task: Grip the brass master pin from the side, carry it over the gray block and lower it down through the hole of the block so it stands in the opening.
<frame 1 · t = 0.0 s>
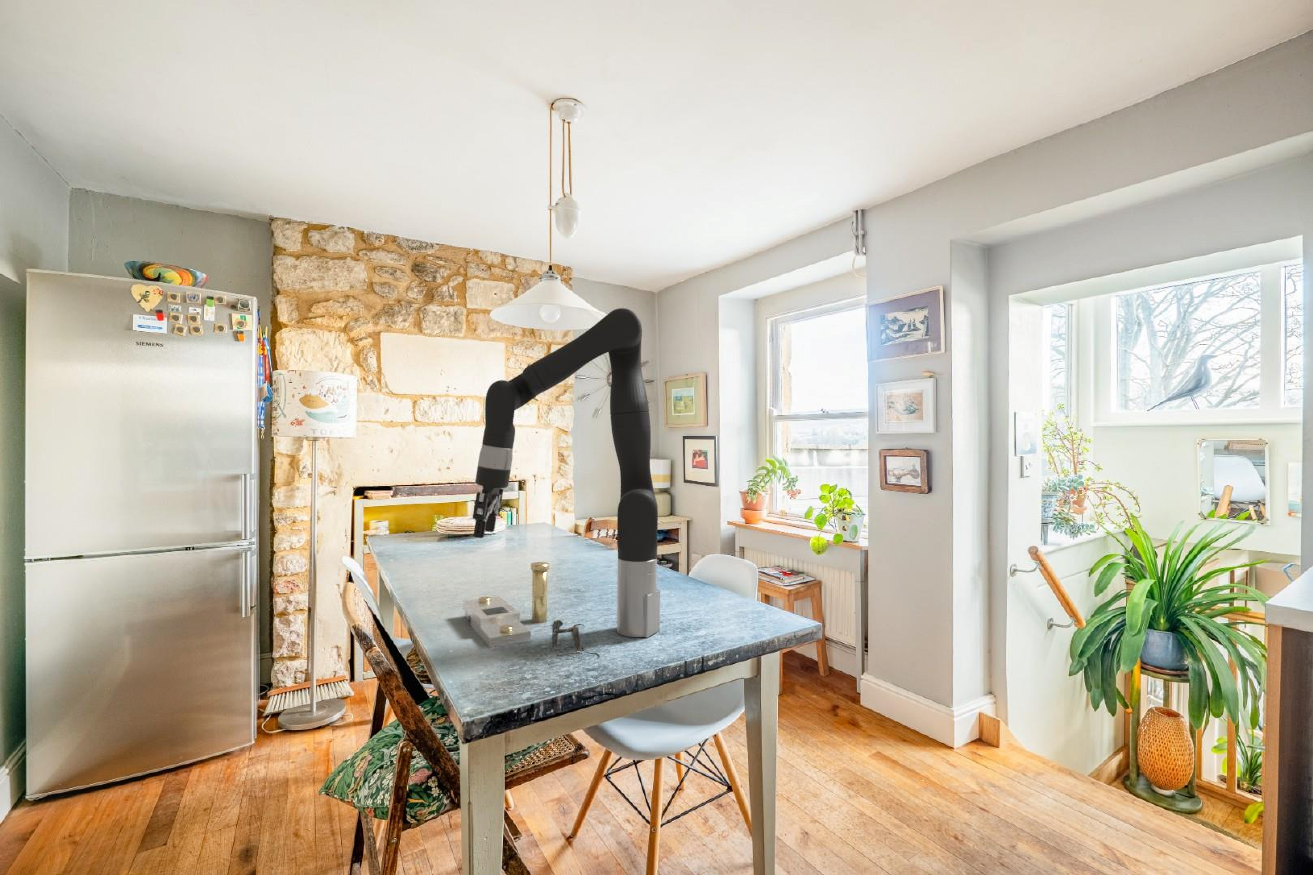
hand: (484, 534, 135), 22 cm above the table, tool pointing down, fingers open, 8 cm apart
master pin: (539, 620, 143), on the table
gray block: (494, 627, 137), on the table
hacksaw: (574, 642, 130), on the table
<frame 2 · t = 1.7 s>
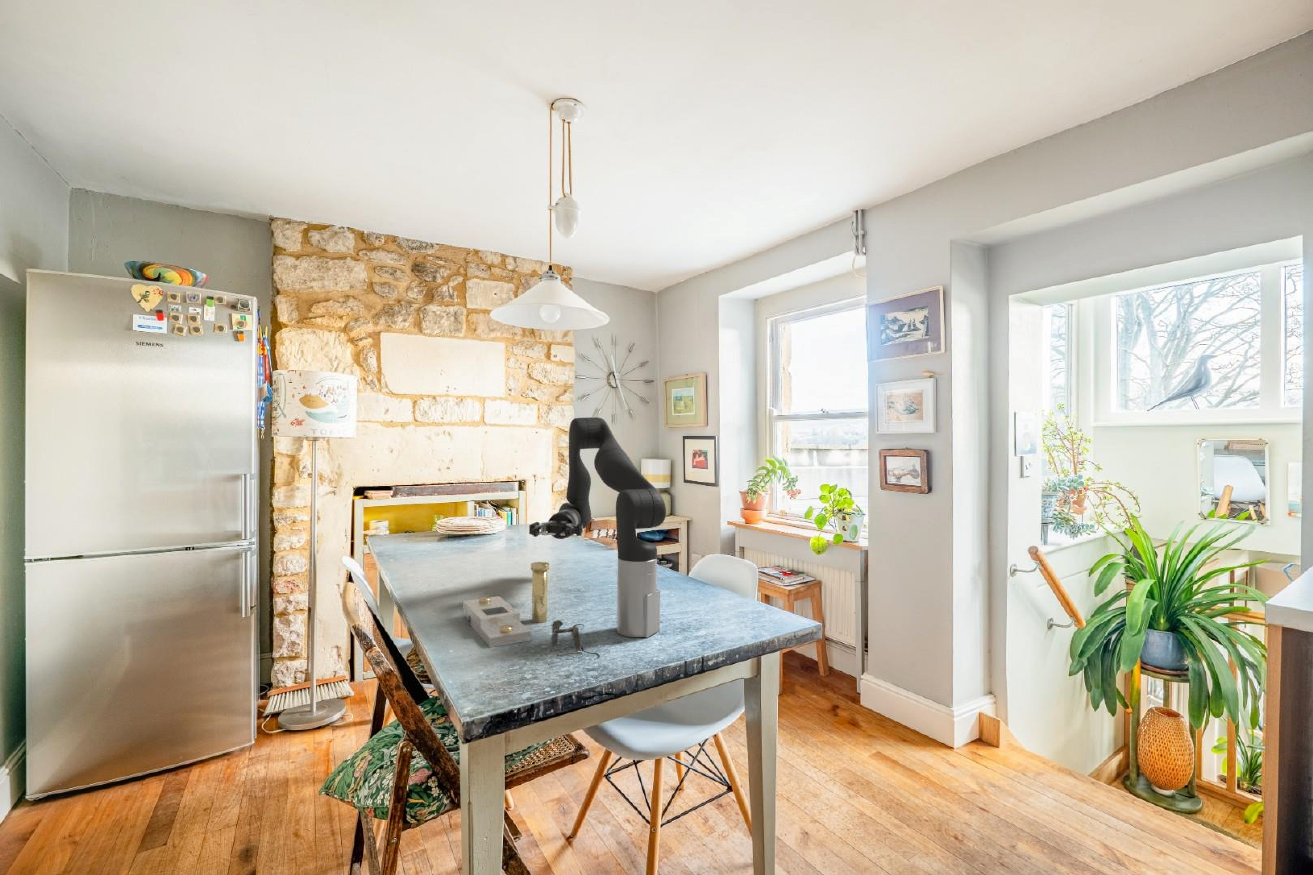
hand: (550, 533, 154), 20 cm above the table, tool horizontal, fingers open, 8 cm apart
nothing on the table moved.
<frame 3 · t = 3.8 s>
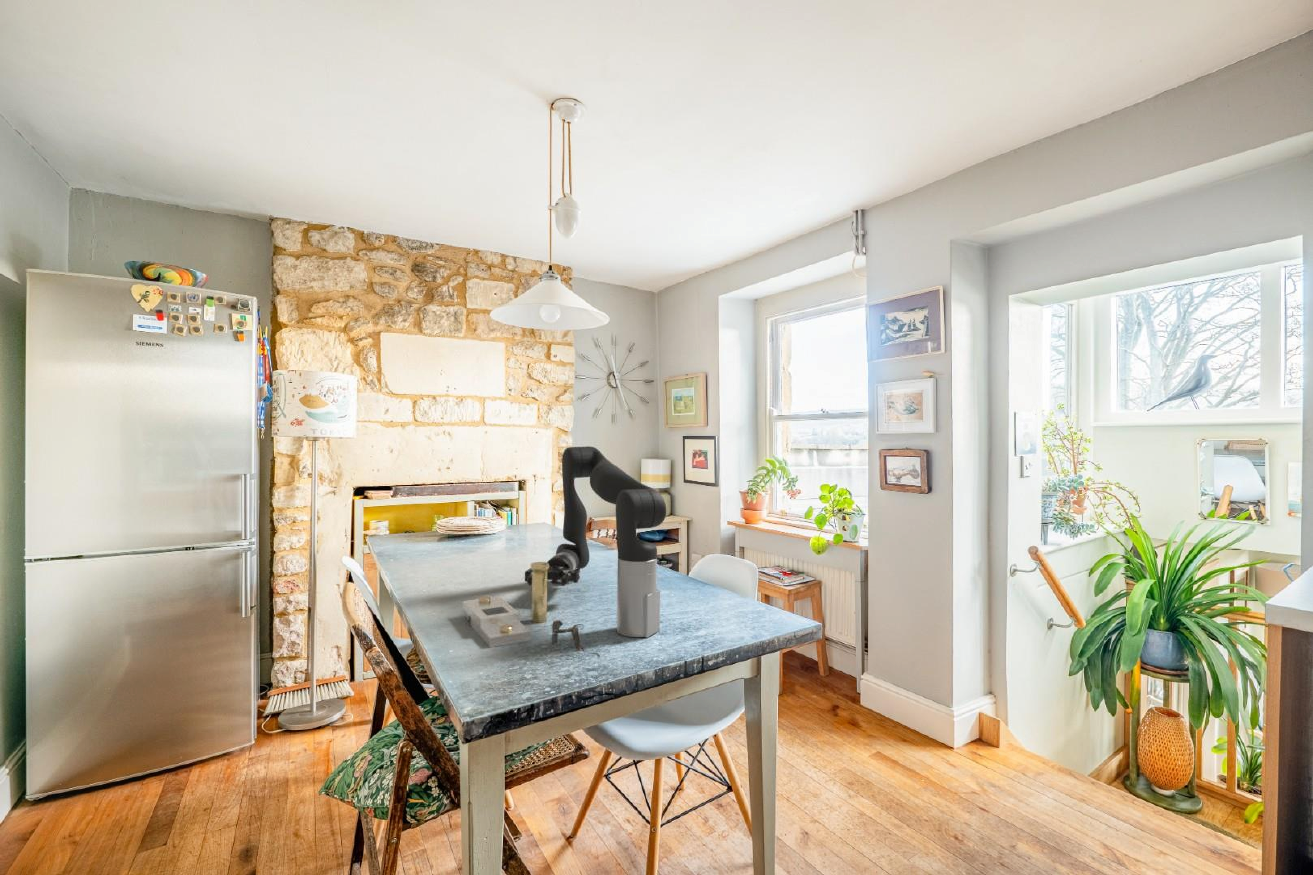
hand: (546, 581, 149), 8 cm above the table, tool horizontal, fingers open, 8 cm apart
nothing on the table moved.
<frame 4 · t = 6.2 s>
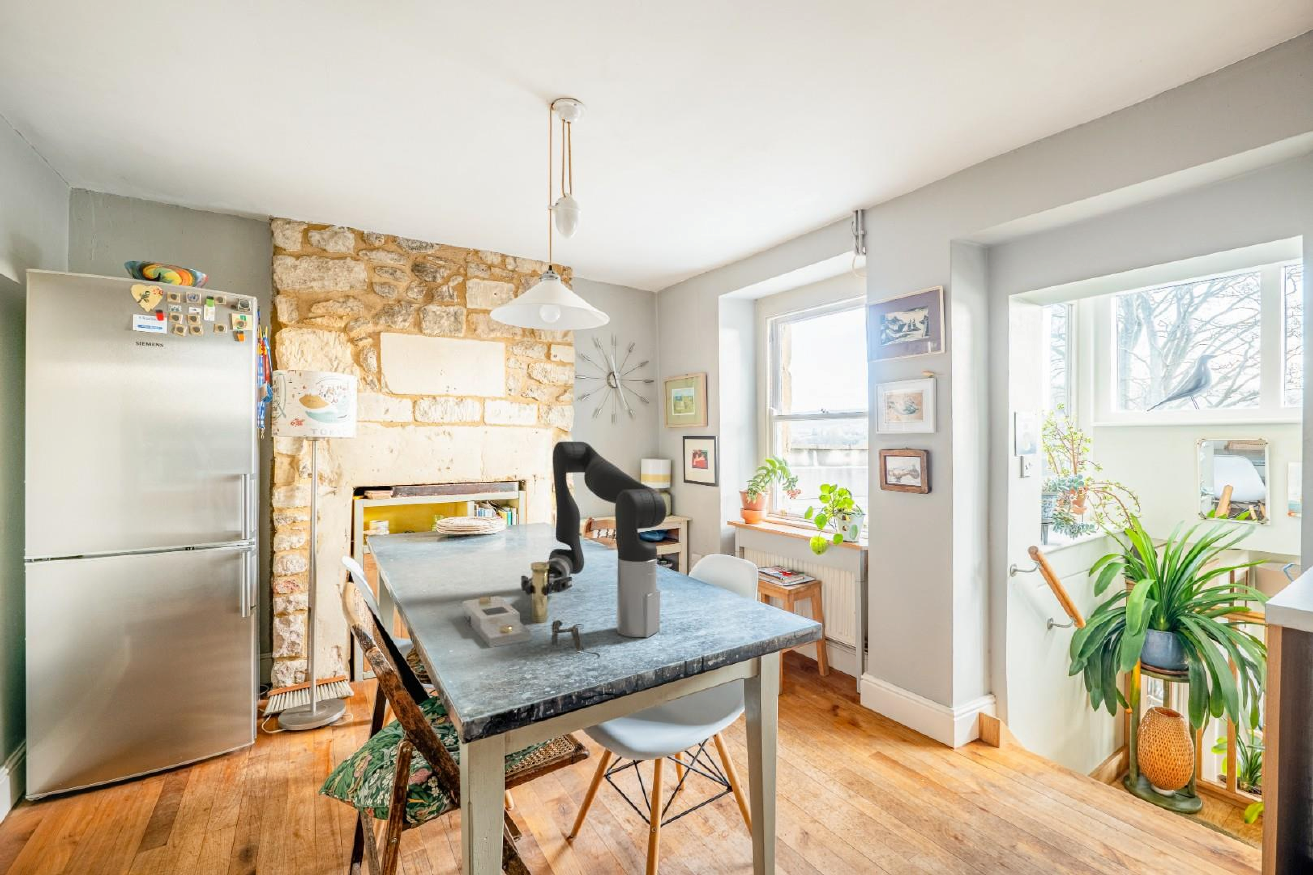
hand: (536, 591, 140), 8 cm above the table, tool horizontal, fingers closed on master pin, 3 cm apart
master pin: (539, 620, 143), on the table, touching gripper
everything else where it was.
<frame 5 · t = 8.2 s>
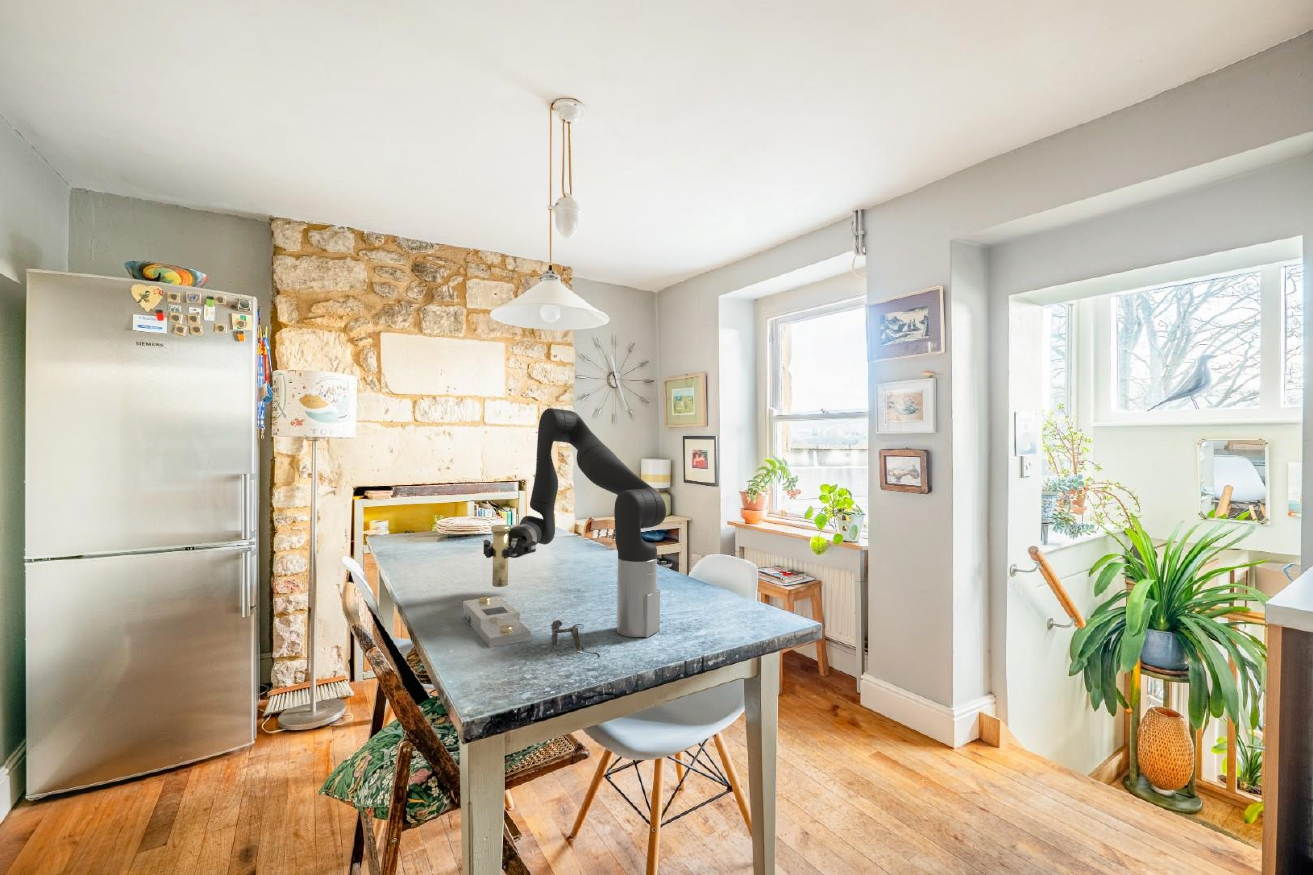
hand: (496, 553, 135), 18 cm above the table, tool horizontal, fingers closed on master pin, 3 cm apart
master pin: (500, 584, 138), point 10 cm above the table, touching gripper
everything else where it was.
when the fingers open (10 cm above the table, at t = 10.5 s): master pin drops 2 cm, resting in gray block.
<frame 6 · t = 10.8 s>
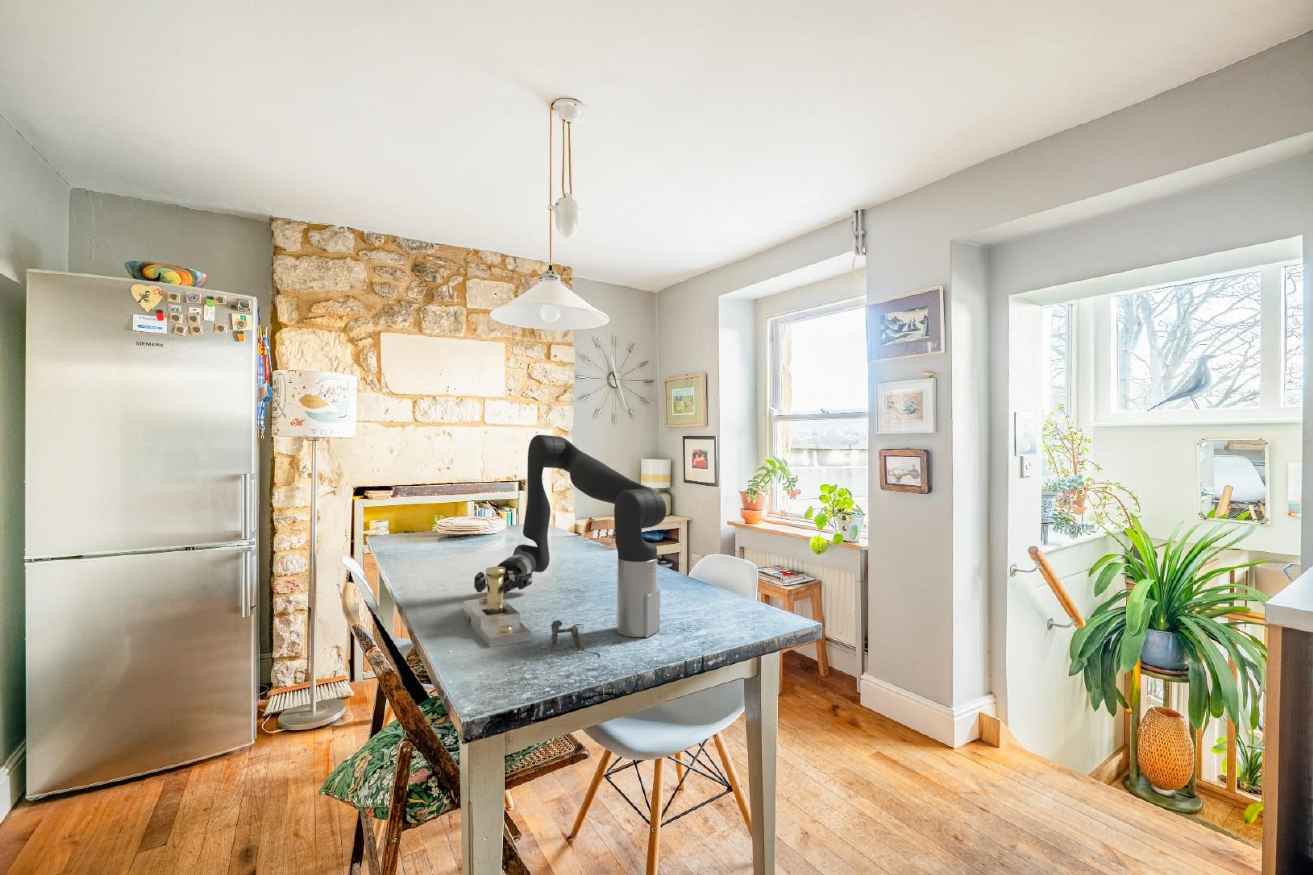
hand: (491, 588, 134), 10 cm above the table, tool horizontal, fingers open, 5 cm apart
master pin: (494, 627, 137), resting in gray block
everything else where it was.
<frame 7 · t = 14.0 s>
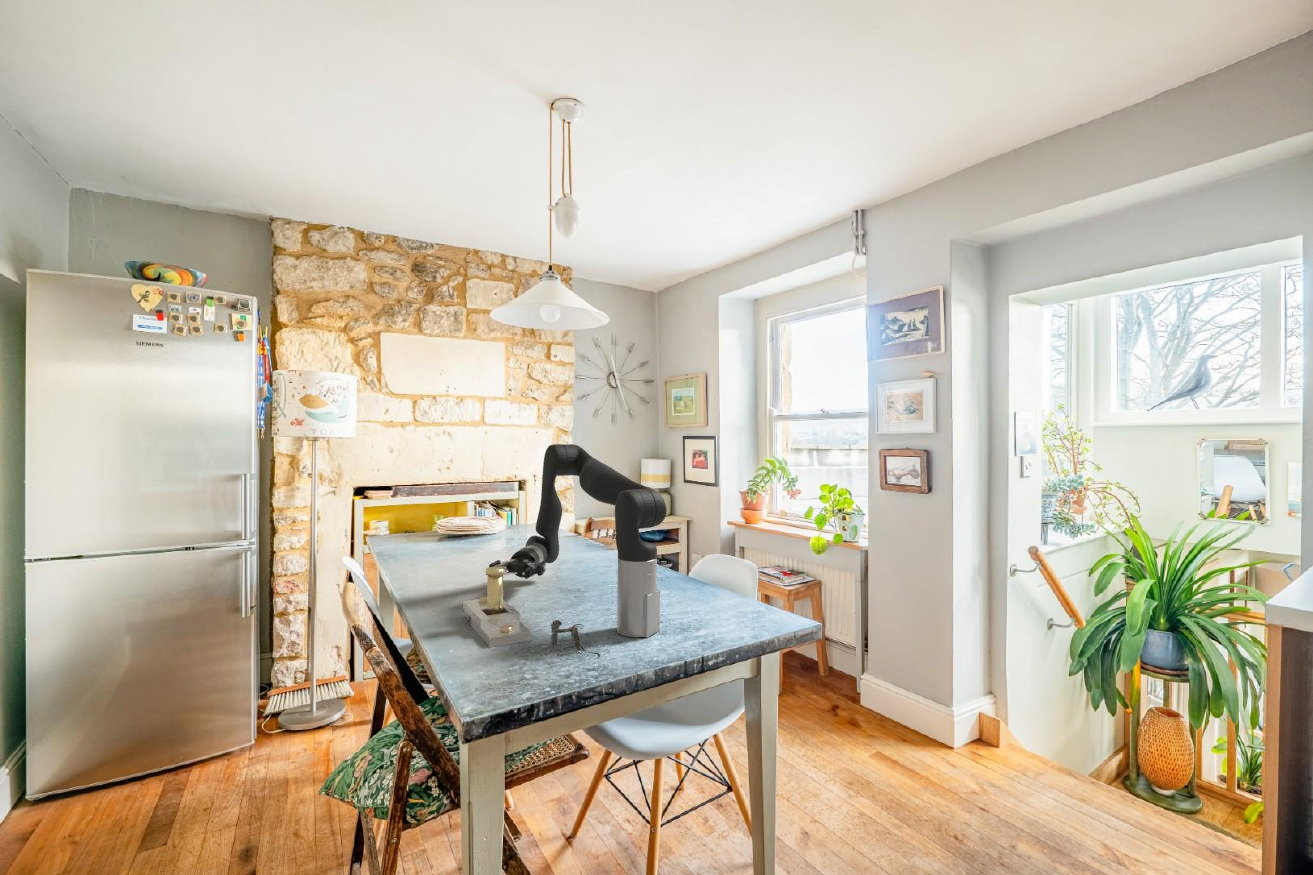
hand: (509, 574, 148), 10 cm above the table, tool horizontal, fingers open, 8 cm apart
nothing on the table moved.
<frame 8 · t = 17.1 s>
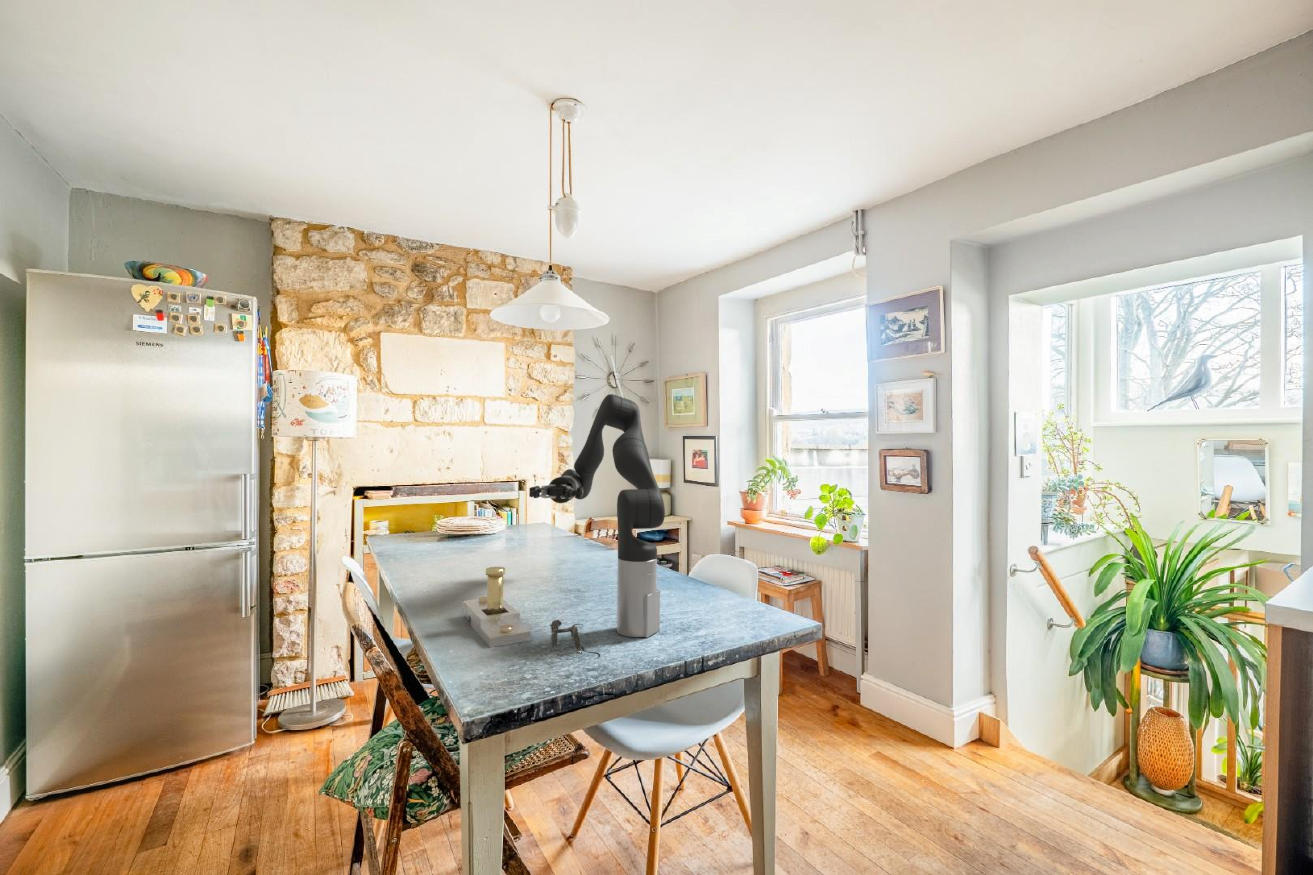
hand: (550, 494, 153), 30 cm above the table, tool horizontal, fingers open, 8 cm apart
nothing on the table moved.
at the end: master pin 0.1 cm off-centre on the gray block, point 0.0 cm above the gray block's base; master pin tilted 0°; the gripper is holding nothing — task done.
